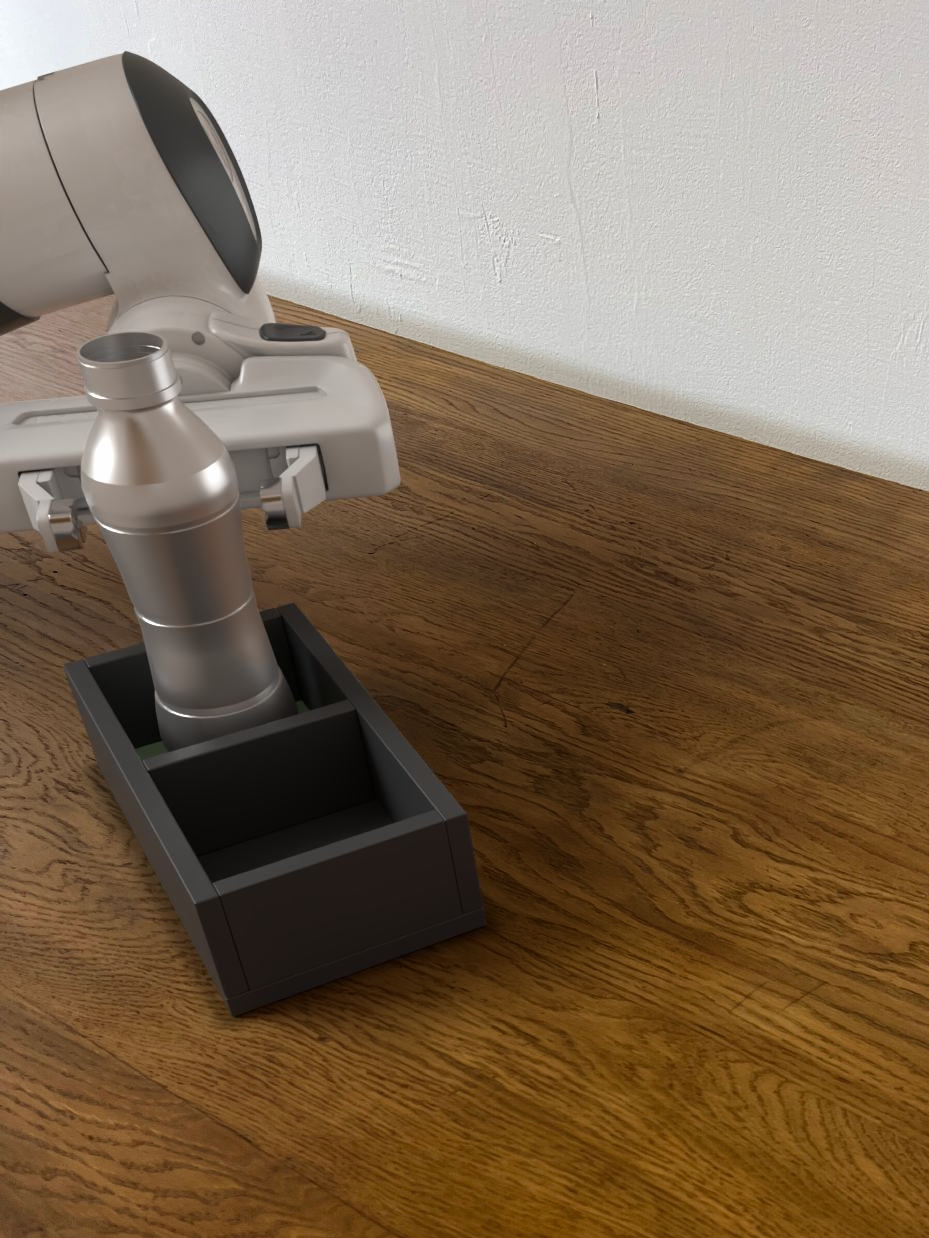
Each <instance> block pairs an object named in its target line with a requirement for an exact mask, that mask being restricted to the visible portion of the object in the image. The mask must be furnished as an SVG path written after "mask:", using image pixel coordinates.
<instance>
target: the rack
mask: <svg viewBox="0 0 929 1238" xmlns="http://www.w3.org/2000/svg"><path fill="white" fill-rule="evenodd" d="M259 613H260V616H261V619H262V622H263V625H264V627H265V630H266V633H267V636H268V639H269V642H270V644H271V647H272V650H273V653H274V656H275V659H276V661H277V664H278V666H279V668H280V669H281V671H282V673H283V675H284V677H285V679H286V681H287V683H288V685H289V687H290V690H291V692H292V695H293V697H294V700H295V702H296V705H297V707H298V714H297V715H294V716H290V717H287V718H284V719H280V720H277V721H273V722H270V723H267V724H263V725H260V726H256V727H253V728H250V729H246V730H243V731H239V732H236V733H233V734H229V735H226V736H222V737H219V738H216V739H212V740H209V741H205V742H202V743H199V744H195V745H192V746H189V747H185V748H182V749H178V750H175V751H172V752H168V751H167V749H166V747H165V745H164V743H163V741H162V739H161V736H160V731H159V726H158V720H157V714H156V705H155V688H154V683H153V679H152V674H151V670H150V665H149V661H148V657H147V652H146V648H145V643H144V642H140V643H137V644H133V645H129V646H126V647H122V648H117V649H114V650H110V651H107V652H103V653H99V654H95V655H92V656H88V657H84V658H80V659H77V660H71V661H69V662H65V663H62V668H63V671H64V674H65V677H66V679H67V683H68V685H69V688H70V691H71V694H72V697H73V698H74V701H75V705H76V707H77V710H78V712H79V716H80V718H81V721H82V723H83V727H84V728H85V732H86V734H87V738H88V740H89V743H90V746H91V748H92V749H91V750H92V751H93V754H94V757H95V761H96V762H97V765H98V768H99V770H100V772H101V774H102V777H103V779H104V780H105V782H106V784H107V786H108V787H109V789H110V792H111V793H112V795H113V797H114V798H115V801H116V802H117V804H118V806H119V808H120V810H121V812H122V813H123V816H124V818H125V819H126V821H127V823H128V826H129V827H130V829H131V830H132V833H133V834H134V836H135V838H136V840H137V841H138V844H139V845H140V848H141V849H142V851H143V853H144V855H145V857H146V859H147V860H148V862H149V864H150V866H151V869H152V870H153V872H154V874H155V875H156V877H157V879H158V881H159V883H160V885H161V886H162V887H161V888H163V891H164V893H165V894H166V896H167V898H168V900H169V902H170V903H171V905H172V907H173V909H174V911H175V913H176V915H177V916H178V918H179V920H180V922H181V924H182V926H183V928H184V930H185V931H186V933H187V936H188V937H189V939H190V941H191V942H192V945H193V946H194V949H195V950H196V953H197V954H198V956H199V958H200V960H201V961H202V963H203V965H204V967H205V969H206V971H207V973H208V975H209V976H210V978H211V980H212V982H213V984H214V986H215V988H216V990H217V992H218V993H219V995H220V997H221V999H222V1001H223V1003H224V1005H225V1006H226V1008H227V1010H228V1012H229V1014H230V1016H231V1017H232V1018H234V1017H237V1016H240V1015H242V1014H243V1015H244V1014H245V1013H248V1012H251V1011H254V1010H256V1009H259V1008H262V1007H265V1006H268V1005H270V1004H273V1003H276V1002H279V1001H281V1000H284V999H287V998H289V997H293V996H295V995H297V994H301V993H303V992H306V991H308V990H311V989H315V988H317V987H320V986H322V985H323V986H324V985H325V984H328V983H331V982H332V981H337V980H340V979H341V978H344V977H347V976H350V975H353V974H356V973H358V972H361V971H364V970H367V969H369V968H372V967H374V966H377V965H380V964H383V963H385V962H388V961H391V960H394V959H396V958H400V957H402V956H405V955H408V954H410V953H413V952H416V951H418V950H422V949H424V948H427V947H430V946H432V945H435V944H438V943H441V942H444V941H447V940H449V939H452V938H455V937H457V936H460V935H463V934H466V933H469V932H471V931H474V930H477V929H479V928H482V927H485V926H487V918H486V913H485V908H484V902H483V897H482V891H481V886H480V885H481V884H480V880H479V873H478V869H477V868H478V867H477V862H476V857H475V852H474V846H473V841H472V835H471V829H470V823H469V818H468V817H469V816H468V813H467V812H466V811H465V809H464V808H463V807H462V806H461V804H460V803H459V802H458V801H457V799H456V798H455V797H454V795H453V794H452V793H451V792H450V791H449V789H447V787H446V786H445V785H444V783H443V782H442V781H441V780H440V779H439V777H438V776H437V775H436V774H435V772H433V770H432V769H431V768H430V766H429V765H428V764H427V762H426V761H425V760H424V759H423V758H422V757H421V755H420V754H419V753H418V752H417V751H416V749H415V748H414V747H413V745H412V744H411V743H410V742H409V741H408V739H407V738H406V737H405V736H404V735H403V734H402V732H401V731H400V730H399V728H398V727H397V726H396V725H395V723H394V722H393V721H392V720H391V719H390V717H389V716H388V715H387V714H386V713H385V711H384V710H383V709H382V708H381V706H380V705H379V704H378V703H377V702H376V700H375V699H374V697H372V696H371V694H370V693H369V692H368V690H367V689H366V688H365V686H363V684H362V683H361V682H360V681H359V679H358V678H357V677H356V676H355V675H354V673H353V672H352V670H351V669H350V668H349V667H348V666H347V665H346V663H345V662H344V661H343V660H342V659H341V657H340V656H339V655H338V654H337V652H336V651H335V649H333V647H332V646H331V644H329V643H328V642H327V640H326V639H325V638H324V636H323V635H322V634H321V632H319V631H318V629H317V627H315V626H314V624H313V623H312V622H311V621H310V619H309V618H308V617H307V616H306V614H305V613H304V612H303V610H301V608H300V607H299V606H298V604H296V602H290V603H286V604H282V605H278V606H276V607H271V608H268V609H263V610H259Z"/></svg>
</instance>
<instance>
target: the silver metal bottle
mask: <svg viewBox="0 0 929 1238" xmlns="http://www.w3.org/2000/svg"><path fill="white" fill-rule="evenodd" d="M76 360H77V364H78V366H79V369H80V373H81V376H82V380H83V392H84V395H86V398H87V400H88V402H89V403H90V404H91V405H93V406H95V407H97V412H98V413H97V416H96V418H95V421H94V423H93V426H92V428H91V431H90V433H89V436H88V438H87V442H86V446H85V449H84V453H83V457H82V460H81V488H82V491H83V493H84V496H85V498H86V501H87V503H88V506H89V508H90V511H91V513H92V514H93V516H94V519H95V521H96V523H97V524H96V526H97V527H98V529H99V531H100V534H101V535H102V537H103V540H104V542H105V544H106V546H107V548H108V550H109V552H110V554H111V555H112V558H113V561H114V562H115V564H116V566H117V569H118V571H119V573H120V576H121V579H122V582H123V584H124V587H125V589H126V592H127V595H128V597H129V600H130V602H131V605H133V610H134V613H135V616H136V619H137V622H138V624H139V627H140V629H141V634H142V639H143V643H145V648H146V652H147V657H148V661H149V665H150V670H151V674H152V679H153V683H154V688H155V705H156V714H157V720H158V726H159V731H160V736H161V739H162V741H163V743H164V745H165V747H166V749H167V751H168V752H172V751H175V750H178V749H182V748H185V747H189V746H192V745H195V744H199V743H202V742H205V741H209V740H212V739H216V738H219V737H222V736H226V735H229V734H233V733H236V732H239V731H243V730H246V729H250V728H253V727H256V726H260V725H263V724H267V723H270V722H273V721H277V720H280V719H284V718H287V717H290V716H294V715H297V714H298V707H297V705H296V702H295V700H294V697H293V695H292V692H291V690H290V687H289V685H288V683H287V681H286V679H285V677H284V675H283V673H282V671H281V669H280V668H279V666H278V664H277V661H276V659H275V656H274V653H273V650H272V647H271V644H270V642H269V639H268V636H267V633H266V630H265V627H264V625H263V622H262V619H261V616H260V613H259V612H260V610H259V608H258V603H257V599H256V593H255V588H254V586H253V584H252V581H253V580H252V575H251V569H250V565H249V564H250V563H249V560H248V554H247V550H246V544H245V535H244V526H243V525H244V524H243V517H242V509H241V506H240V497H239V488H238V480H237V475H236V469H235V464H234V462H233V460H232V458H231V457H230V455H229V453H228V451H227V450H226V448H225V446H224V444H223V443H222V441H221V439H220V438H219V437H218V436H217V435H216V434H215V433H214V432H213V431H212V430H211V429H210V428H209V427H208V426H207V425H206V424H205V423H204V421H202V420H201V419H200V418H199V417H198V416H197V415H196V414H195V413H193V412H192V411H191V410H190V409H189V408H188V407H187V406H185V405H184V404H183V403H182V402H181V401H180V400H179V398H178V396H177V395H178V394H179V393H180V391H181V389H182V383H181V380H180V376H179V374H178V372H177V371H176V370H175V367H174V363H173V360H172V356H171V352H170V348H169V345H168V344H167V341H166V339H165V338H164V337H163V336H161V335H158V334H155V333H151V332H141V331H130V332H118V333H112V334H107V335H106V334H104V335H99V336H97V337H94V338H91V339H89V340H87V341H85V342H83V343H82V344H80V345H79V346H78V347H77V349H76Z"/></svg>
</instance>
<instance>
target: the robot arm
mask: <svg viewBox="0 0 929 1238" xmlns="http://www.w3.org/2000/svg"><path fill="white" fill-rule="evenodd" d="M202 99H203V98H201V97H200V96H199V95H198V94H197V93H196V92H195V91H194V90H192V89H191V88H190V87H189V86H187V85H186V84H185V83H184V82H182V81H181V80H180V79H178V78H177V77H176V76H174V75H173V74H171V73H170V72H169V71H167V70H166V69H164V68H163V67H162V66H161V65H159V64H157V63H156V62H154V61H152V60H150V59H148V58H146V57H145V56H142V55H139V54H137V53H135V52H131V51H128V50H125V51H124V52H122V53H118V54H112V55H109V56H105V57H101V58H98V59H94V60H91V61H88V62H84V63H80V64H77V65H74V66H70V67H67V68H63V69H59V70H55V71H51V72H48V73H46V74H42V75H38V76H37V78H36V79H33V80H31V81H27V82H24V83H20V84H17V85H13V86H11V87H7V88H3V89H0V337H3V336H4V335H6V334H8V333H11V332H14V331H16V330H19V329H20V328H24V327H26V326H28V325H31V324H33V323H35V322H37V321H39V320H40V319H41V317H42V316H46V315H49V314H52V313H56V312H59V311H63V310H65V309H70V308H72V307H76V306H79V305H83V304H85V303H89V302H93V301H95V300H99V299H102V298H106V297H109V296H112V295H114V296H115V298H114V300H113V303H112V306H111V310H110V313H109V315H108V320H107V325H106V333H105V335H107V334H112V333H118V332H130V331H141V332H151V333H155V334H158V335H161V336H163V337H164V338H165V339H166V341H167V344H168V345H169V348H170V352H171V356H172V360H173V363H174V367H175V370H176V371H177V372H178V374H179V376H180V380H181V383H182V389H181V391H180V393H179V394H178V395H177V396H178V398H179V400H180V401H181V402H182V403H183V404H184V405H185V406H187V407H188V408H189V409H190V410H191V411H192V412H193V413H195V414H196V415H197V416H198V417H199V418H200V419H201V420H202V421H204V423H205V424H206V425H207V426H208V427H209V428H210V429H211V430H212V431H213V432H214V433H215V434H216V435H217V436H218V437H219V438H220V439H221V441H222V443H223V444H224V446H225V448H226V450H227V451H228V453H229V455H230V457H231V458H232V460H233V462H234V464H235V469H236V475H237V480H238V488H239V497H240V506H241V510H250V509H262V510H261V511H262V512H263V513H264V521H265V526H266V530H267V531H279V530H280V531H281V530H290V529H301V528H302V515H305V514H306V513H307V512H309V511H311V510H312V509H314V508H315V507H317V506H318V505H320V504H321V503H323V502H331V501H343V500H352V499H361V498H373V497H375V498H376V497H381V496H385V495H387V494H389V493H391V492H392V491H394V490H396V489H398V487H400V485H401V484H402V477H401V472H400V465H399V459H398V453H397V446H396V442H395V436H394V433H393V432H394V431H393V426H392V421H391V415H390V411H389V408H388V403H387V401H386V397H385V395H384V393H383V390H382V388H381V386H380V384H379V382H378V380H377V378H376V377H375V375H374V373H373V372H372V371H371V370H370V368H368V367H367V366H365V365H364V363H361V362H360V361H358V359H357V356H356V353H355V352H356V351H355V349H354V346H353V342H352V341H351V337H350V335H349V333H348V332H347V331H346V330H344V329H341V328H338V327H330V326H318V325H303V324H291V323H281V322H277V320H276V317H275V313H274V310H273V307H272V304H271V301H270V298H269V296H268V294H267V292H266V290H265V288H264V285H263V283H262V281H261V280H260V278H259V277H260V276H259V275H258V273H259V266H260V262H261V259H262V258H261V257H262V252H263V238H262V232H261V228H260V223H259V219H258V216H257V211H256V208H255V205H254V203H253V200H252V196H251V193H250V190H249V187H248V184H247V182H246V179H245V177H244V174H243V172H242V169H241V167H240V164H239V162H238V160H237V158H236V156H235V153H234V152H233V150H232V147H231V145H230V143H229V141H228V139H227V137H226V135H225V133H224V131H223V129H222V128H221V126H220V124H219V123H218V121H217V119H216V118H215V116H214V114H213V112H212V111H211V110H210V108H209V107H208V106H207V104H206V103H205V101H203V100H202ZM97 413H98V412H97V407H95V406H93V405H91V404H90V403H89V402H88V400H87V398H86V395H85V394H84V395H74V396H73V395H72V396H61V397H50V398H48V397H47V398H39V399H38V398H37V399H27V400H26V399H25V400H15V401H10V402H3V403H0V535H1V534H10V533H20V532H28V531H30V532H31V531H36V532H38V533H39V534H40V536H41V539H42V542H43V545H44V548H45V550H46V551H47V553H48V554H53V553H54V554H55V553H63V552H69V551H70V552H71V551H78V550H79V551H80V550H84V548H85V545H84V544H85V543H86V539H87V533H86V531H85V526H90V525H97V523H96V521H95V519H94V516H93V514H92V513H91V511H90V508H89V506H88V503H87V501H86V498H85V496H84V493H83V491H82V488H81V460H82V457H83V453H84V449H85V446H86V442H87V438H88V436H89V433H90V431H91V428H92V426H93V423H94V421H95V418H96V416H97Z"/></svg>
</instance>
